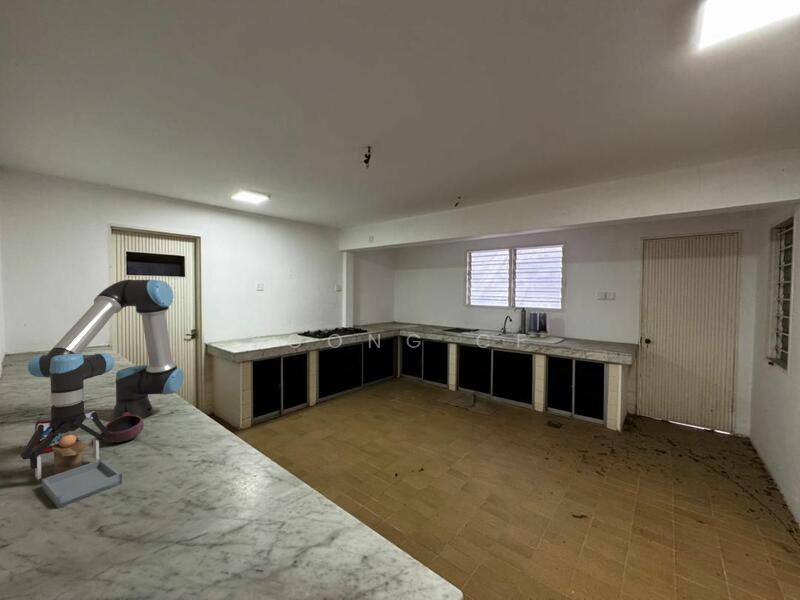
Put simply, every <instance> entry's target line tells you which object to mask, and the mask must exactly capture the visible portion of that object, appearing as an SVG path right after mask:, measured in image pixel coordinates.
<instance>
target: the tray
mask: <svg viewBox="0 0 800 600" xmlns="http://www.w3.org/2000/svg"><path fill="white" fill-rule="evenodd" d="M122 477H123V475H122V473H121V471H119V470H118V469H117V468H115V467H114V466H112V465H111V464H110V463H108V462H106V460H104V459H102V458H101V459H98V460H95V461H93V462H90V463H87V464H84V465H83V464H82V466H80V467H77V468H74V469H71V470H68V471H65V472H62V473H59V474H56V475H54V474H52V475H50V476H47V477H45V478H41V490H42V491H43V493H44V494H45V495H46V496H47V497H48V498H49V499H50V501H51V502H52V503H53V504H54V505H55V506H56V508H57V509H60V508H63V507H65V506H68V505H70V504H73V503H76V502H78V501H80V500H83V499H86V498H89V497H91V496H94V495H96V494H99V493H102V492H104V491H106V490H110V489H112V488H113V487H114V488H115V487H116V486H119V485H121V484H123V478H122Z"/></svg>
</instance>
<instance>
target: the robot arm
mask: <svg viewBox="0 0 800 600" xmlns="http://www.w3.org/2000/svg"><path fill="white" fill-rule="evenodd" d="M173 299H174V292H173V289H172V287H171V286H170V285H169V284H168V283H167V282H166V281H164V280H158V279H157V280H156V279H124V280H119V281H117V282H116V283H112V284H111V285H109V286H108V287H106V288H105V289H103V290H102V291H101V292H100V293H99V294H97V295H96V296H95V298H94V299H93V304H92V306H90V308H89V309H87V311H86V312H85V313H84V314H83V315H82V316H81V317H80V319H79V320H78V321H76V322H75V323H74V325H72V327H71V328H70V329H69V330H68V331H67V332H66V334H64V335H63V337H62V338H61V339H60V340H59V341H58V342H57V343H56V344H55V345H54V346H53V347H52V349H50V351H49V352H48V353H46V354H39V355H37V356H34V357H33V358H31V360H30V361H28V365H27V370H28V373H29V374H30V375H31V376H33V377H37V378H47V379H48V378H50V380H49V381H50V405H51V407H50V415H51V421H50V423H45V424H41V423H38V424H37V425H36V431H35V430H34V433H33V434H32V436H31V438H30V440H29V441H28V442H27V444H26V446H25V447H24V449H23V451H22V452H21V454H20V457H21V459H22V460H29V468H30V469H31V470H34V469H35V470H34V471H35V472H34V473H35V475H34V477H35V478H36V479H37V480H40V479H41V480H42V457H41V456H40V454H42V453H41V452H42V451H43V450H44V449H45V448H46V447H47V446H48V445H49V443H50V442H51V441H52V440H53V439H54V438H55V437H57V436H58V434H59V433H62V435H63V434H66V433H67V434H68V432H74V431H76V430H79V429H81V430H83V431H84V432H86V433H88V434H89V435H91V436H93V437H94V438H93V439H92V441H93V442H92V443H93V444H92V446H93V449H92V452H93V455H92V456H93V459H94V460H95V461H98V460H100V449H102V448H103V446H104V445H103V440H105V439H104V437H105V436H108V435H109V434H110V433H109V431H108V430H107V429H106V428H105V426H106V425H104V424H103V423H102V422H101V420H100V419H99V418H98V413H97V411H95V410H91V411H90V412H87V413H85V403H84V401H83V400H84V399H85V397H84V396H85V394H84V385H85V384H84V380H85V381H86V380H87V379H91V378H94V377H99V376H102V375H104V374H106V373H109V372H110V371H111V370H112V369H113V368H114V366H115V360H114V358H113V356H112V355H111V354H109V353H106V352H100V353H95V354H82V353H83V352H84V350H85V349H86V348H87V347H88V346H89V344H90V343H91V342H92V341H93V340H94V338H96V336H97V335H98V334H99V332H100V331H101V330H102V329H103V328H104V326H106V325H107V323H108V322H109V321H110V319H111V318H113V316H114V315H115V314H118V313H120V312H121V311H122V309H124V308H126V307H135V311H136V314H139V315H140V316H141V320H142V326H143V333H144V340H145V346H146V352H147V357H148V364H149V365H147V364H141V365H135V366H130V367H125V368H122V369H120V370H117V372H116V374H115V379H114V380H115V381H114V382H115V405H114V407H113V409H112V412H111V414H110V415H111V416H110V417H111V418H110V420H111V421H112V420H114V419H116V418H118V417H121V416H122V414H123V413H125V412H129V413H130V414H131V415H136V416H139V417H141V418H142V419H143V420H144V419H145V418H149V417H150V416H152V414H153V412H154V408H153V406H152V404H151V403H152V402H151V401H150V399H149V395H163V396H164V395H165V396H166V395H173V394H175V393H177V392H178V391H179V390H180V388H181V387H182V385H183V382H184V379H185V378H184V377H185V375H184V374H185V373H184V370H183V369H182V368H178V366H177V362H176V361H174V360H173V358H172V351H171V346H170V345H171V344H170V337H169V330H168V323H167V314H166V312H167V311H168V310H169V309H170V308H169V307H170V306H171V305H172V304H173V302H174V301H173ZM87 418H88V420H91V421H92V422H93V423H94V424H95V426H96V427H97V429H99V431H100V433H99V432H98V431H95V430H94V429H92V428H90V427H89V426H86V425H85V424H83V423H84V422H85V420H86V419H87ZM111 421H110V422H111ZM48 427H51V428H52V430H51V431H50V432H49V434H48V435H47V436H46V437H45V439H44V440H43V441H42V442H41V443H40V444H39V445H38V446H37V447H35V445H36V444H37V442H38V441H39V439H40V437H41V436H42V434H43V431H45V430H46V429H47V428H48Z"/></svg>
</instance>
